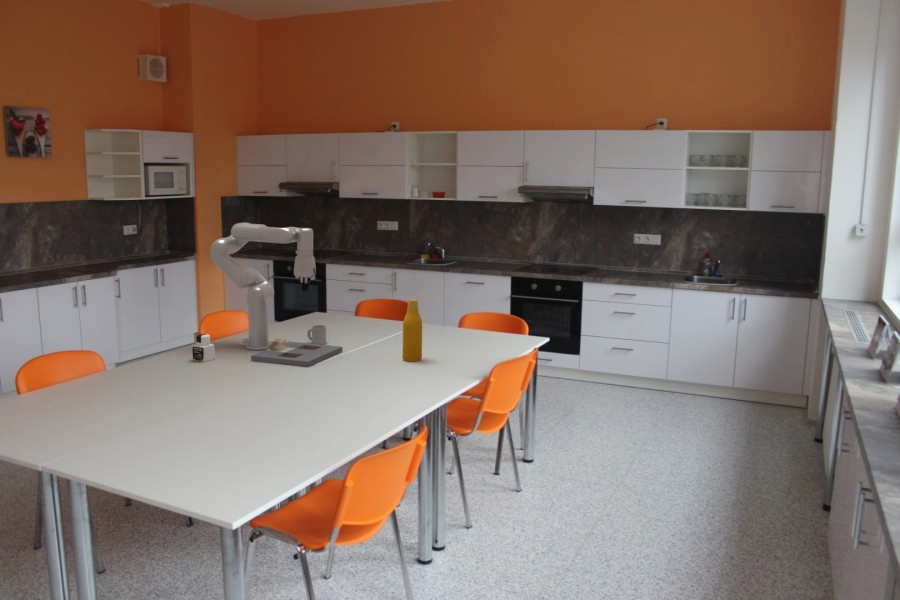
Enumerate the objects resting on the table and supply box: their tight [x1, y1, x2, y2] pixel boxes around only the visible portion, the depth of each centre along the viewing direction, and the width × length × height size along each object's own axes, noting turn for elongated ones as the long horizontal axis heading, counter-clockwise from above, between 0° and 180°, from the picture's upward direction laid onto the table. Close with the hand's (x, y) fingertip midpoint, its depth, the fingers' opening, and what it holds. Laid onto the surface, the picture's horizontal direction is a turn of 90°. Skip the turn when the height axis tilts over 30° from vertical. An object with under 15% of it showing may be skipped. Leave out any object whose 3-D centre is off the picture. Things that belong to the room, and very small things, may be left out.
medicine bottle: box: [191, 333, 216, 363], centre depth 358 cm, size 7×7×12 cm
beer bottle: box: [402, 298, 423, 363], centre depth 365 cm, size 9×9×29 cm
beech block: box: [268, 338, 287, 351], centre depth 371 cm, size 6×6×4 cm
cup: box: [306, 324, 327, 345], centre depth 398 cm, size 7×10×9 cm
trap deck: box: [250, 341, 343, 368], centre depth 370 cm, size 30×34×2 cm
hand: (305, 290), depth 377 cm, fingers closed
